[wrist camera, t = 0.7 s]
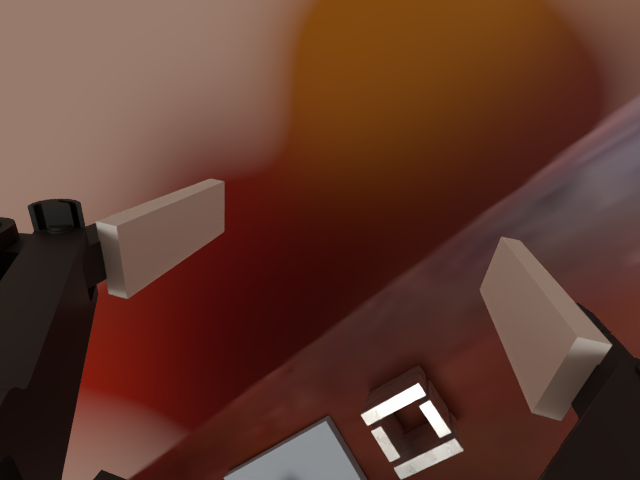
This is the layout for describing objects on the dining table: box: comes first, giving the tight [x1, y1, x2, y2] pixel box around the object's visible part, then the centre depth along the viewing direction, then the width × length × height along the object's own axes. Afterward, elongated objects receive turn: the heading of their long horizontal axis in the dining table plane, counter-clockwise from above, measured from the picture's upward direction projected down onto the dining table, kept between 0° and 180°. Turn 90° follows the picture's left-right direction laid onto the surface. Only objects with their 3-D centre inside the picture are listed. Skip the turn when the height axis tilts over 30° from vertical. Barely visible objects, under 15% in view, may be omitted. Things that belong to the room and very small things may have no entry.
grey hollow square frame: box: [361, 365, 463, 480], centre depth 38 cm, size 8×8×6 cm
